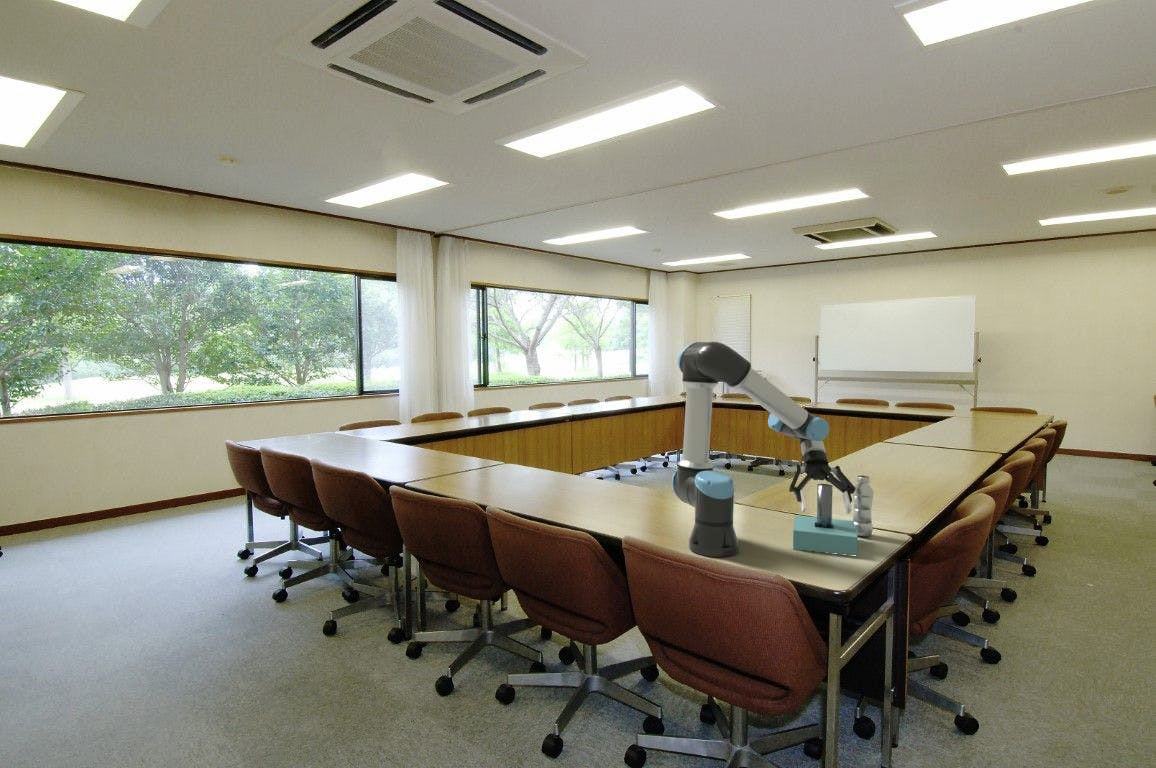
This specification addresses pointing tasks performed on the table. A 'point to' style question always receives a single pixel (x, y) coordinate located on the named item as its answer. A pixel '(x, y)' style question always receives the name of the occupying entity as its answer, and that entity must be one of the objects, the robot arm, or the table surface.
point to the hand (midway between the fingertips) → (826, 510)
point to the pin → (824, 506)
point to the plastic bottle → (863, 506)
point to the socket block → (825, 536)
